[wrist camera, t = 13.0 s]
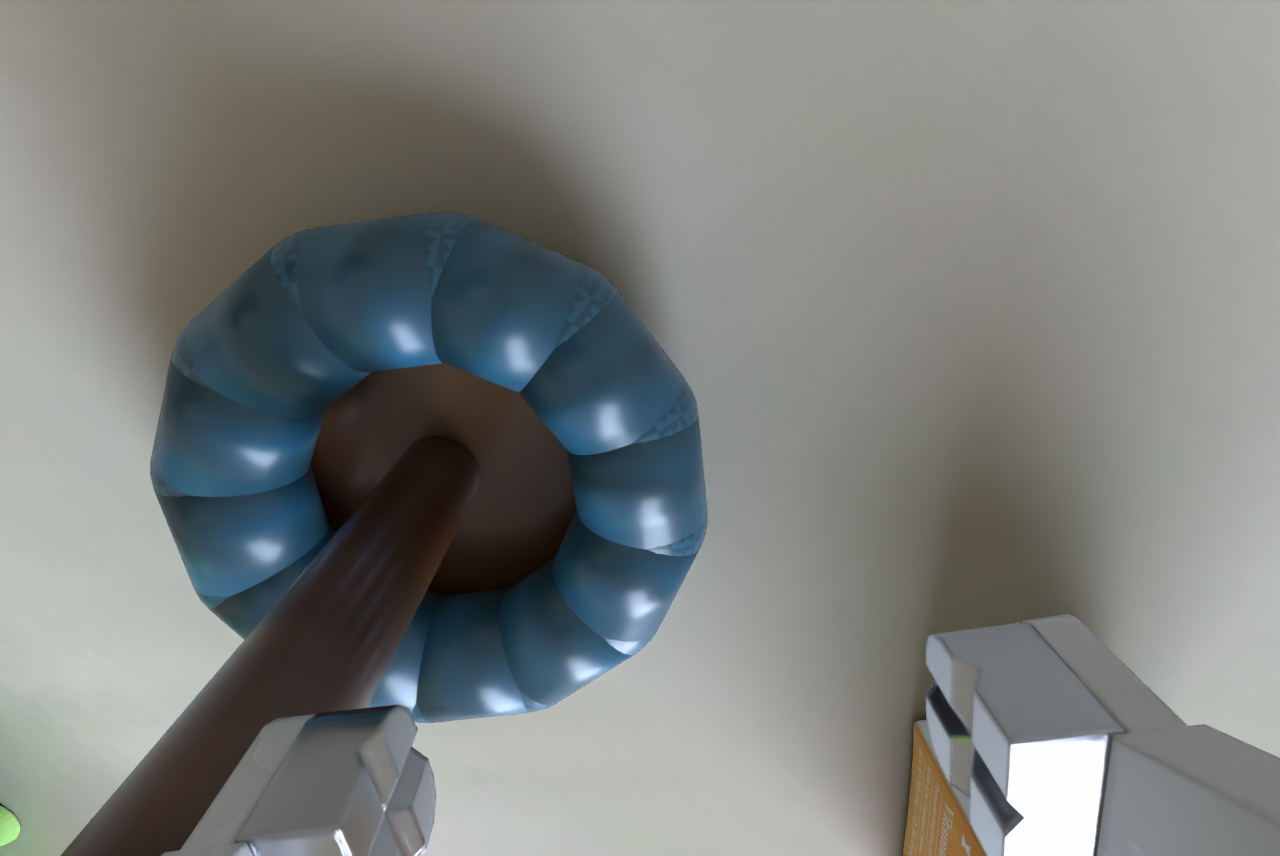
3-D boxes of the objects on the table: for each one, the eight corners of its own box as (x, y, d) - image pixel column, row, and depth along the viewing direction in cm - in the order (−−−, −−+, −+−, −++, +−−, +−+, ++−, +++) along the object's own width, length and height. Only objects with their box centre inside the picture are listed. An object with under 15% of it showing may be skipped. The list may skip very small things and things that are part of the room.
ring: (134, 250, 15) (17, 264, 12) (671, 182, 14) (681, 180, 12) (294, 684, 19) (234, 771, 16) (715, 638, 18) (731, 719, 16)
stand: (231, 313, 16) (-695, 602, 5) (590, 261, 16) (494, 437, 5) (338, 617, 19) (-80, 1232, 8) (641, 577, 19) (660, 1157, 8)
